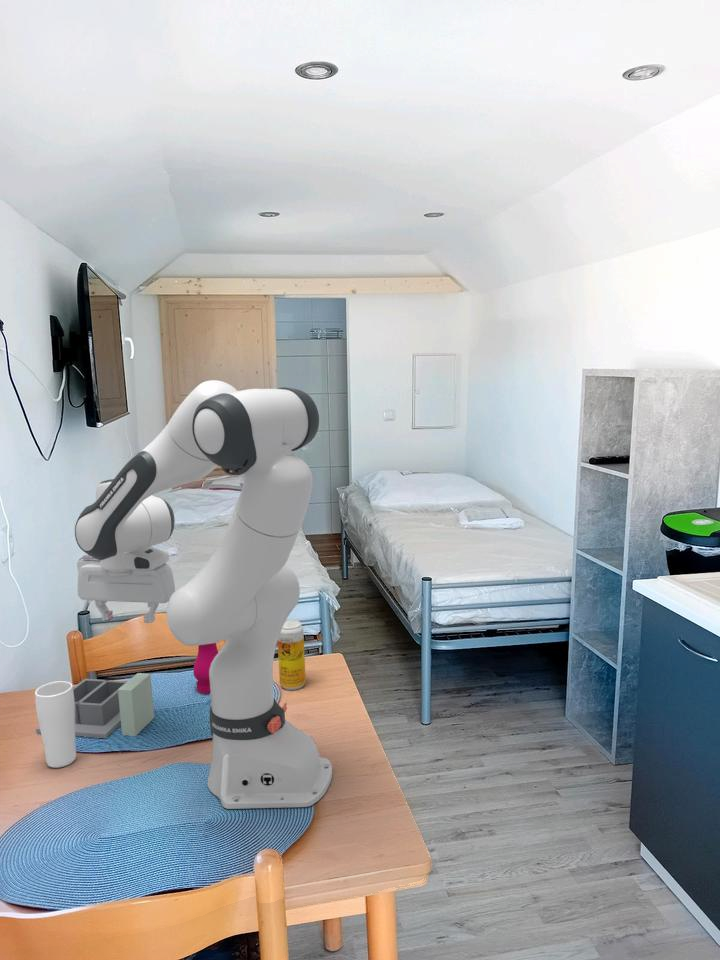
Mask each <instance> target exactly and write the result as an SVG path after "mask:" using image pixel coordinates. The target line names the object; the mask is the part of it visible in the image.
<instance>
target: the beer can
mask: <svg viewBox="0 0 720 960" xmlns="http://www.w3.org/2000/svg"><path fill="white" fill-rule="evenodd" d="M304 636H305V635H304V627H303V625H302V623H301V621H299V620H293V619H292V620H291V619H290V620H286V621H285V623H284V625H283V627H282V630H281V632H280V635H279V638H278V641H277V655H278V656H277V657H278V677H279V685H280V687H282V688H283V689H284V690H287V691H296V690H299V689H302V688H303V687H304V686H305V684H306V682H307V679H306V678H307V677H306V676H307V675H306V657H305V640H304V639H305V638H304Z"/></svg>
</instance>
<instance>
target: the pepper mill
mask: <svg viewBox="0 0 720 960" xmlns="http://www.w3.org/2000/svg"><path fill="white" fill-rule="evenodd" d="M217 645H218V644H217V643H212V644H205V645H197V647H198V649H197V650H198V651H197V655H196V659H195V662H194V664H193V672H192V674H193V677H194V678H195V679H196V680H197V681H196V683H195V684H196V691H197V693H200V694H202V693H203V694H204V695H207V694H209V695H211V694H210V679H209V670H210V666H211V663H212V661H213V659H214V658H215V656H216V655H217V654H218V653H219V650H218V647H217Z"/></svg>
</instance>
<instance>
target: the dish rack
mask: <svg viewBox="0 0 720 960" xmlns="http://www.w3.org/2000/svg"><path fill="white" fill-rule="evenodd" d="M128 681H129V680H127V681H126V680H111V679H100V678H99V679H98V678H96V679H95V678H84V679H82V680H81V681H80V682H79V683H77V684H76V685H75V686H73V691H74V699H75V736H85V737H84V738H87V737H94V738H93V739H99V738H106V737H107V738H109V737H108V736H109V735H110V734H111V733H112V732H113V731H114V730H115V729H116V728H117V729H118V728H120V727H121V718H120V707H119V696H118V689H119V688H120V687H122V686H123V685H124V684H125V683H126V682H128ZM117 729H116V730H117ZM116 730H115V731H116ZM35 731H36V734H40V735H41V731H40V726H39V725H38V727H37V728H35ZM115 731H114V732H115ZM114 732H113V733H114ZM113 733H112V734H113ZM112 734H111V735H112ZM111 735H110V736H111ZM96 737H98V738H96ZM107 738H106V739H107Z"/></svg>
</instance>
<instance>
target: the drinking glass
mask: <svg viewBox="0 0 720 960" xmlns="http://www.w3.org/2000/svg"><path fill="white" fill-rule="evenodd" d="M73 687H74V686H73V683H71V682H70V681H65V680H64V681H63V680H58V681H52V682H48V683H46V684H45V683H44V684H43V685H41V686H39V687H38V688H36V690H35V691H34V699H35V711H36V716H37V720H38V721H37V722H38V727H39V726H40V731H41V734H40V735H41V740H42V743H43V748H44V753H45V761H46V764H47V766H48V767H50V768H53V769H55V768H56V769H57V768H58V769H59V768H63V767H67V766H69V765H71V764H72V763H73V762H75V760H76V759H77V751H76V737H75V699H74V691H73Z"/></svg>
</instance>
